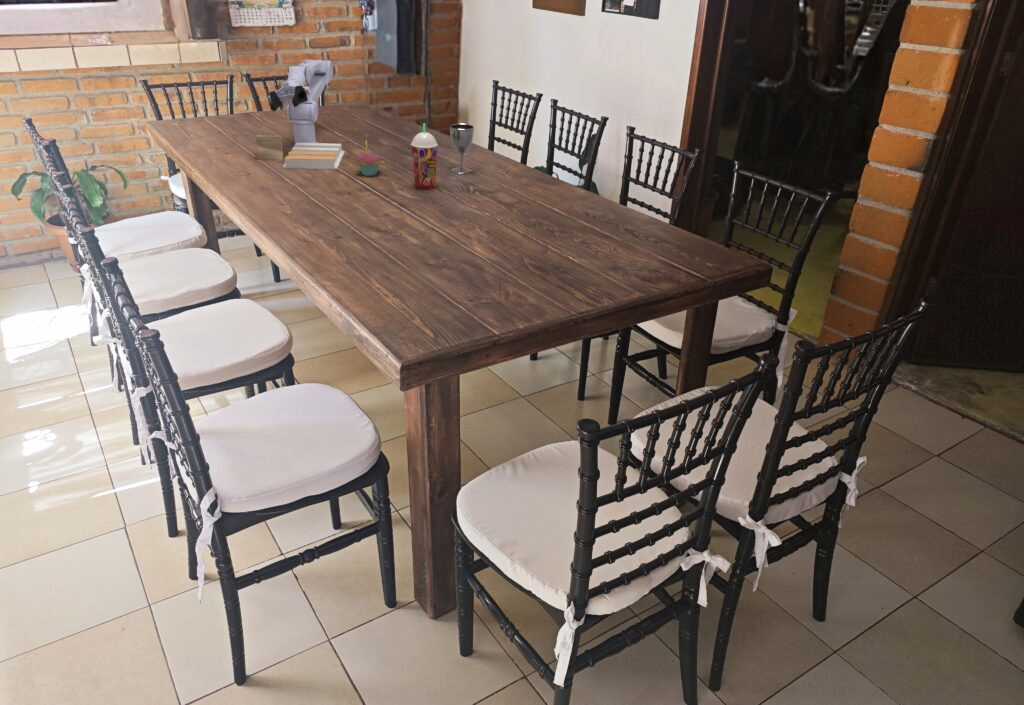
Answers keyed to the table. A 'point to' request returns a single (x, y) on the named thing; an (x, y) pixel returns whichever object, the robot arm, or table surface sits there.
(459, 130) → the wine glass
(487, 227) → the table surface
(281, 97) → the robot arm
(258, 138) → the block
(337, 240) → the table surface
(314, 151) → the rack
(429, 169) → the smoothie
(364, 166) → the cupcake
